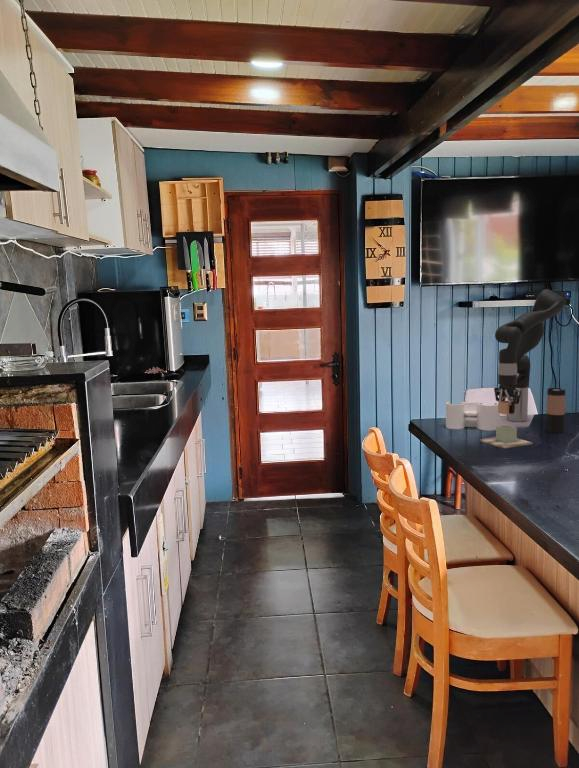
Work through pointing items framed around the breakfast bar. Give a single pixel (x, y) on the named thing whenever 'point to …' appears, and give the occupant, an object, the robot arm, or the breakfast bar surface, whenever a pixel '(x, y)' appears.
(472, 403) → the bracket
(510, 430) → the sage block
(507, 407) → the terracotta block
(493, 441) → the board
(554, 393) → the travel mug
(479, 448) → the breakfast bar surface
